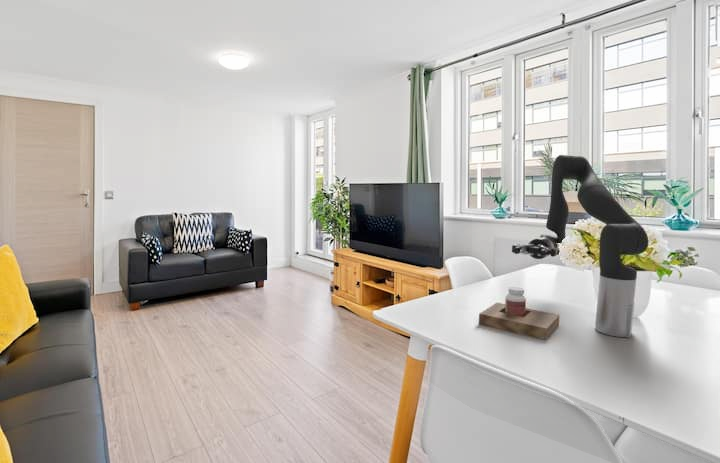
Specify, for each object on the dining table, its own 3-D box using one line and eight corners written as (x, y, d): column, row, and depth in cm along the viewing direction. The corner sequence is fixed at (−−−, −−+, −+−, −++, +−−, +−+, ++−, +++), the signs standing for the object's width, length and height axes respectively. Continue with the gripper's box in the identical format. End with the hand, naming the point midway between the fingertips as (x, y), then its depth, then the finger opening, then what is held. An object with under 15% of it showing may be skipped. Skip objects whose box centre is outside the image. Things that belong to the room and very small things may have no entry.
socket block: (558, 325, 124) (559, 314, 124) (546, 340, 112) (546, 328, 111) (496, 312, 137) (496, 302, 136) (478, 324, 124) (479, 313, 124)
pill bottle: (528, 324, 124) (530, 290, 123) (510, 325, 124) (512, 291, 122) (517, 318, 131) (520, 286, 129) (500, 318, 130) (502, 286, 128)
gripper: (521, 236, 150) (508, 239, 137) (562, 239, 141) (551, 243, 128) (520, 255, 150) (506, 260, 138) (561, 259, 141) (550, 265, 129)
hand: (528, 252), depth 133 cm, fingers open, 8 cm apart
